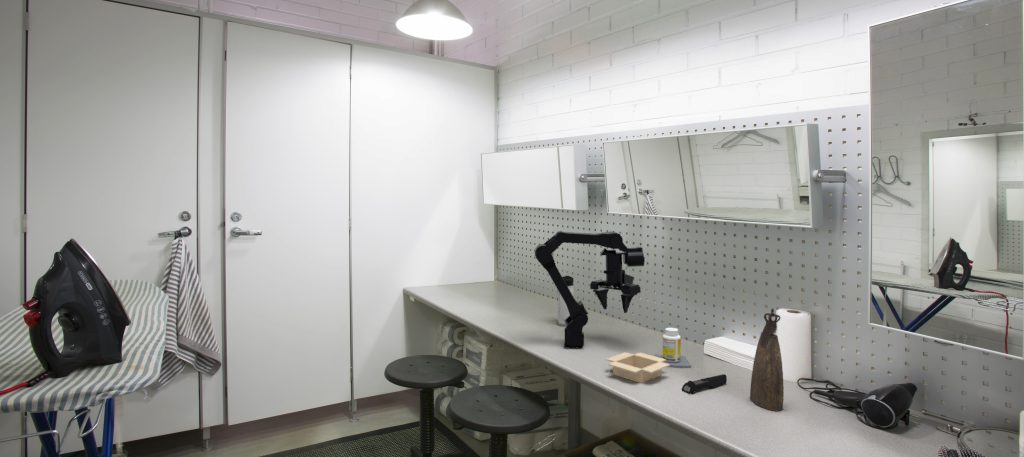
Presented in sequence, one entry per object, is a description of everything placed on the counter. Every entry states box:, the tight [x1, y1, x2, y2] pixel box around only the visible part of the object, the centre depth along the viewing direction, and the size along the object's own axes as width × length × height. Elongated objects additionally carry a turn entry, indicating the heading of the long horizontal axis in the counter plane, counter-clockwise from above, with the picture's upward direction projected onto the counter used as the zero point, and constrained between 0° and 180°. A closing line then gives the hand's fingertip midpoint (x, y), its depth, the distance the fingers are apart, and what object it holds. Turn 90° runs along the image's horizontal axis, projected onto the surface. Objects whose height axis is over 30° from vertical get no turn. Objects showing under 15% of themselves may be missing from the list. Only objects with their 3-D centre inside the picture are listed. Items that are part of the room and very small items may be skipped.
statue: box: [749, 308, 785, 412], centre depth 135 cm, size 9×8×25 cm
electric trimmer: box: [681, 373, 728, 395], centre depth 148 cm, size 4×16×3 cm, turn 118°
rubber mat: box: [653, 354, 692, 369], centre depth 170 cm, size 10×10×1 cm
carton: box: [606, 351, 670, 384], centre depth 159 cm, size 16×16×4 cm
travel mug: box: [557, 275, 575, 328], centre depth 218 cm, size 6×7×20 cm
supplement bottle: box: [662, 327, 682, 363], centre depth 169 cm, size 6×6×10 cm
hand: (615, 311), depth 187 cm, fingers open, 9 cm apart
